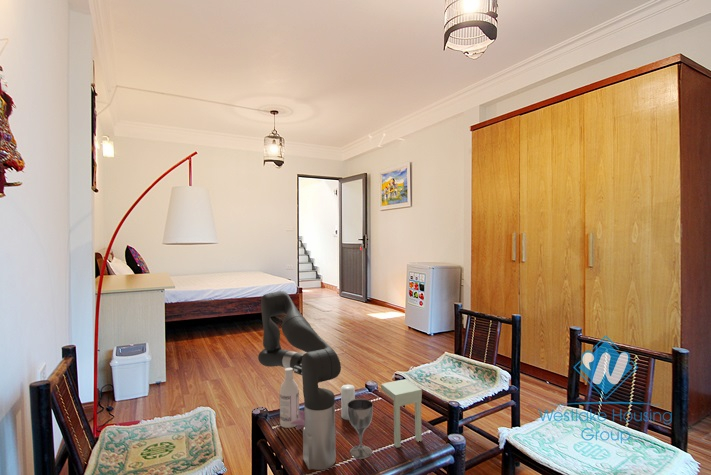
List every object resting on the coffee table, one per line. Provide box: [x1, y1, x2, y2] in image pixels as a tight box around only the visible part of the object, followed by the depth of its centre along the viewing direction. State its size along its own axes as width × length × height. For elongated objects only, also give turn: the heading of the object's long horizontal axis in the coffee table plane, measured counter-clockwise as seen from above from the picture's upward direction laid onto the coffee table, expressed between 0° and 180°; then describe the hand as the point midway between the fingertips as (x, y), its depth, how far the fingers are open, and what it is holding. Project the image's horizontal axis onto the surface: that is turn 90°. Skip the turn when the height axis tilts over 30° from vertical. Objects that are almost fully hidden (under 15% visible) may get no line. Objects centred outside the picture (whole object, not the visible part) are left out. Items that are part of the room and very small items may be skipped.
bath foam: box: [279, 368, 300, 429], centre depth 132 cm, size 7×7×20 cm
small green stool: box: [380, 378, 423, 448], centre depth 122 cm, size 10×10×17 cm
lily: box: [290, 409, 305, 431], centre depth 124 cm, size 12×12×10 cm
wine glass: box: [348, 398, 374, 460], centre depth 114 cm, size 8×8×15 cm
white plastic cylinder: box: [340, 384, 356, 421], centre depth 137 cm, size 5×5×11 cm
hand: (324, 369), depth 142 cm, fingers open, 8 cm apart
